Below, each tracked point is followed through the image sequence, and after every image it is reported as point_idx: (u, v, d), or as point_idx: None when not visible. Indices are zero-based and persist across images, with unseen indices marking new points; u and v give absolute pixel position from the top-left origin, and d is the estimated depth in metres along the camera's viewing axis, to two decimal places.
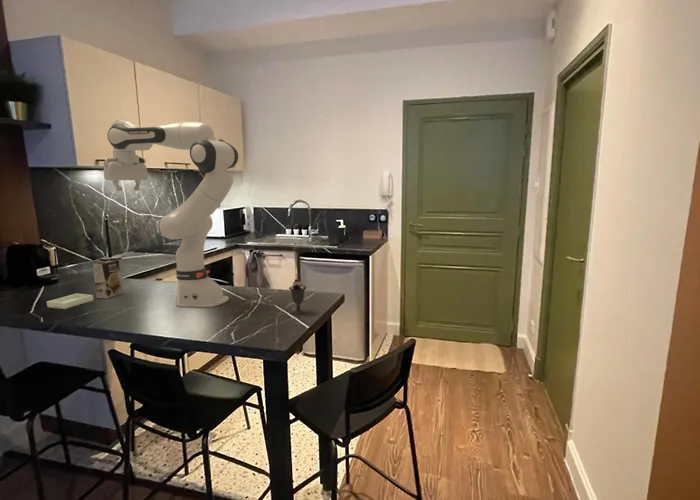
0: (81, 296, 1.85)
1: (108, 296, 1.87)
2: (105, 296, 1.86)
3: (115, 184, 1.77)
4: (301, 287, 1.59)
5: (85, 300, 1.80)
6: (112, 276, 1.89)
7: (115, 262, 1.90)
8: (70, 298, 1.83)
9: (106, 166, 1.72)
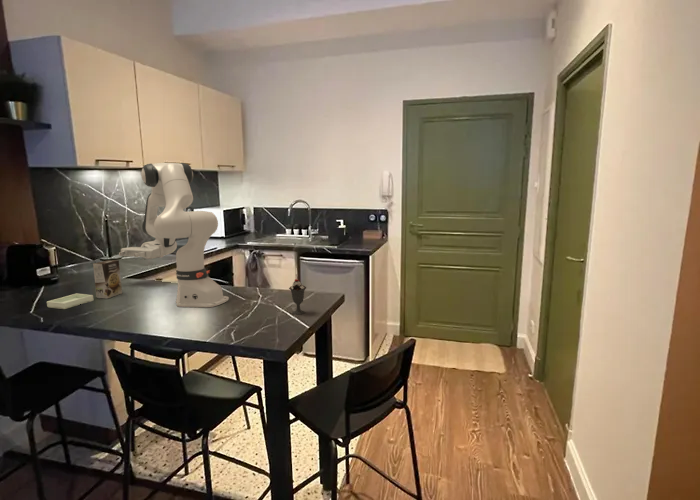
0: (81, 296, 1.85)
1: (108, 296, 1.87)
2: (105, 296, 1.86)
3: None
4: (301, 287, 1.59)
5: (85, 300, 1.80)
6: (112, 276, 1.89)
7: (115, 262, 1.90)
8: (70, 298, 1.83)
9: None
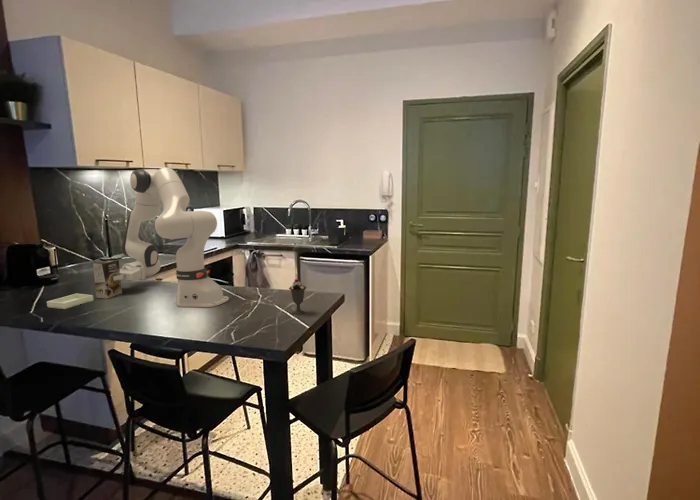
0: (81, 296, 1.85)
1: (108, 296, 1.87)
2: (105, 296, 1.86)
3: None
4: (301, 287, 1.59)
5: (85, 300, 1.80)
6: None
7: (115, 262, 1.90)
8: (70, 298, 1.83)
9: None
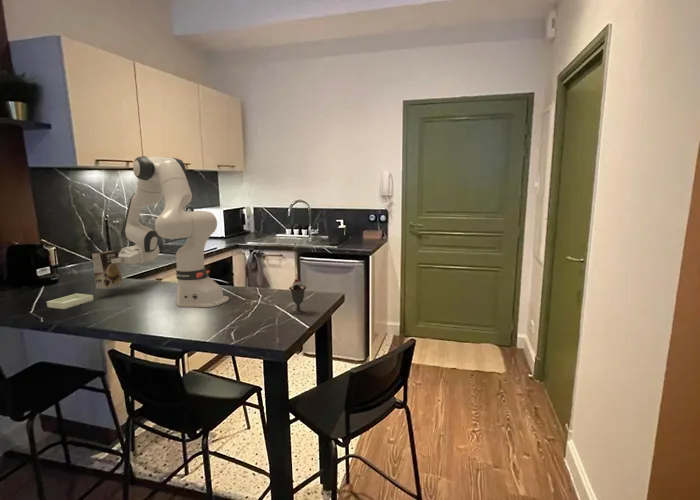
0: (81, 296, 1.85)
1: (107, 286, 1.86)
2: (104, 286, 1.86)
3: None
4: (301, 287, 1.59)
5: (85, 300, 1.80)
6: (111, 266, 1.88)
7: (114, 252, 1.89)
8: (70, 298, 1.83)
9: None
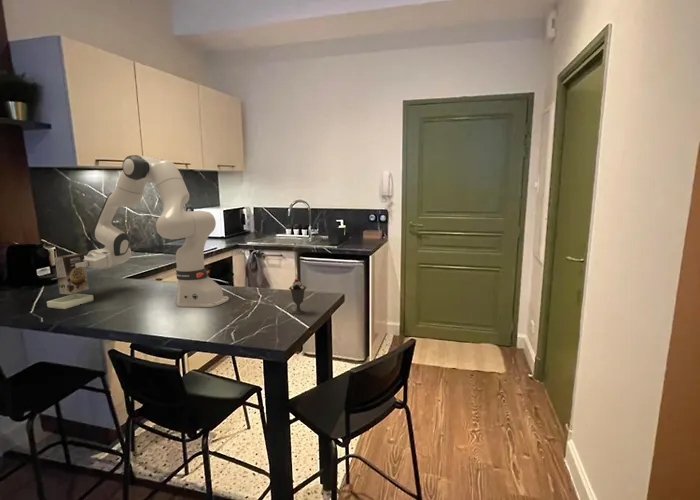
0: (81, 296, 1.85)
1: (70, 292, 1.75)
2: (67, 292, 1.75)
3: None
4: (301, 287, 1.59)
5: (85, 300, 1.80)
6: (76, 270, 1.77)
7: (79, 256, 1.78)
8: (70, 298, 1.83)
9: None
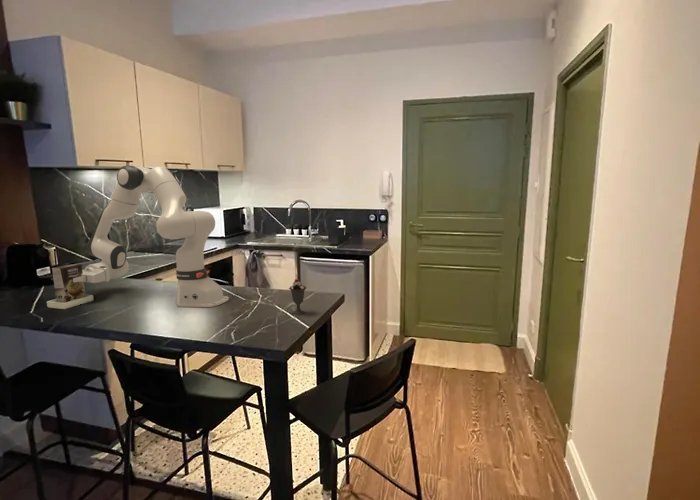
0: None
1: None
2: None
3: None
4: (301, 287, 1.59)
5: (85, 300, 1.80)
6: None
7: (77, 266, 1.78)
8: None
9: None
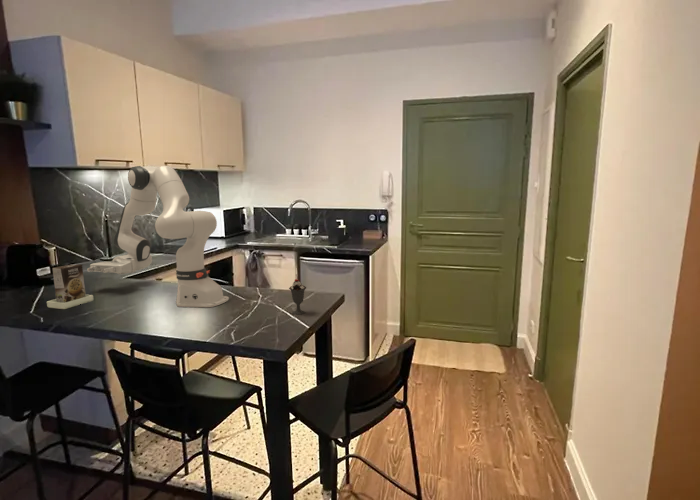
0: None
1: None
2: None
3: None
4: (301, 287, 1.59)
5: (85, 300, 1.80)
6: (73, 281, 1.76)
7: (77, 267, 1.78)
8: None
9: None
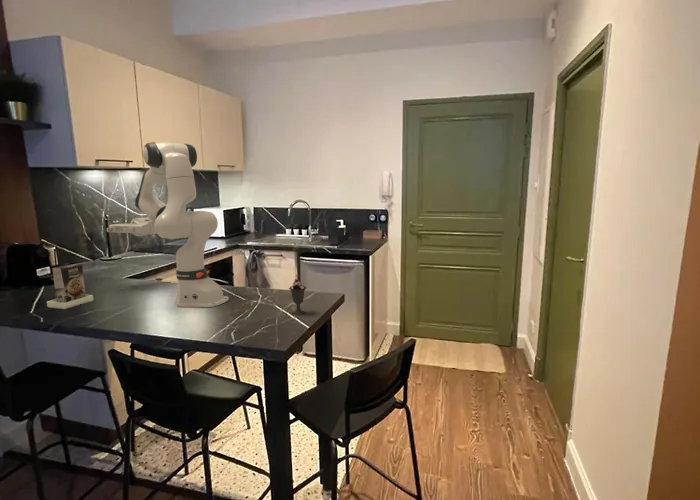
0: None
1: None
2: None
3: None
4: (301, 287, 1.59)
5: (85, 300, 1.80)
6: (73, 281, 1.76)
7: (77, 267, 1.78)
8: None
9: None
